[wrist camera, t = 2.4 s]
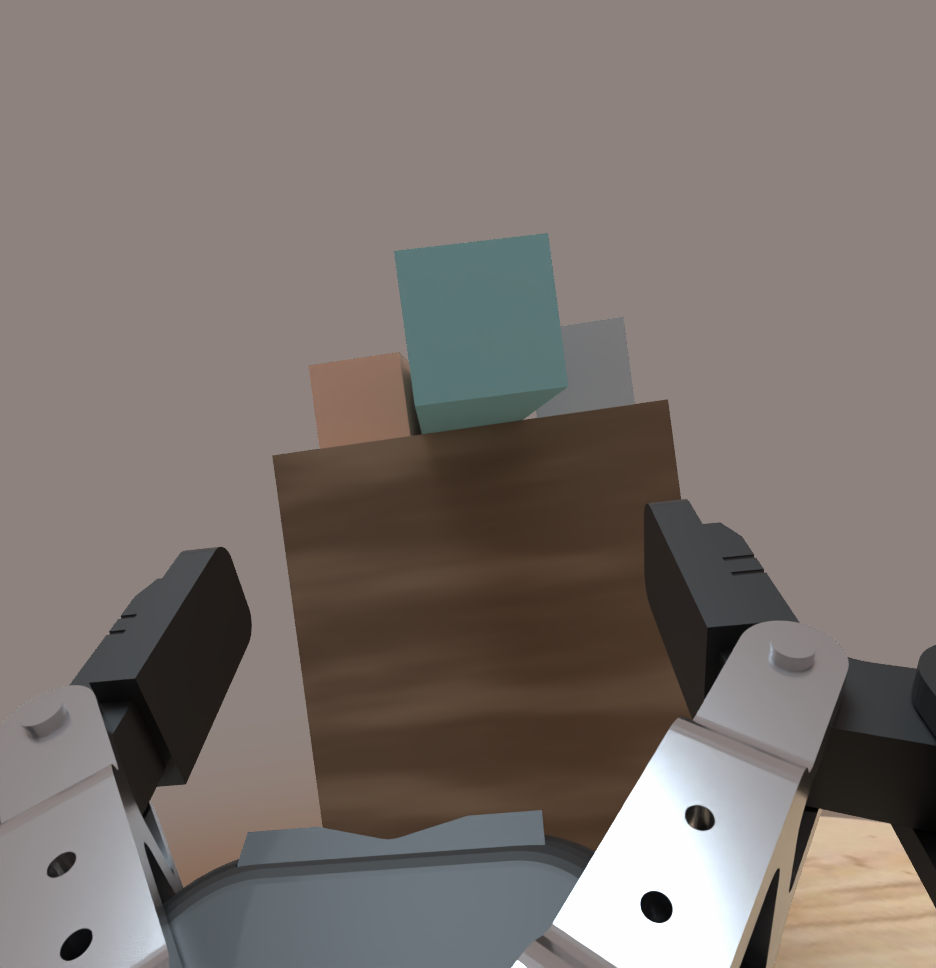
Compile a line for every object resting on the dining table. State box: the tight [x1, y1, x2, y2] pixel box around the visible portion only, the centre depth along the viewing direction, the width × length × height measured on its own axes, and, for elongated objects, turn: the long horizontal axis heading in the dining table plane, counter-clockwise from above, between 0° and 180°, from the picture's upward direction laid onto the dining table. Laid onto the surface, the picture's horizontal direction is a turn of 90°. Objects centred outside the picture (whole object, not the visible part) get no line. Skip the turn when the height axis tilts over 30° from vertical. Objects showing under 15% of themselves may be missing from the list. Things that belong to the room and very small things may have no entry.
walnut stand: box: [273, 400, 692, 851], centre depth 34 cm, size 15×16×32 cm
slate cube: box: [536, 317, 635, 418], centre depth 33 cm, size 4×4×4 cm
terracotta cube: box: [309, 352, 422, 449], centre depth 34 cm, size 4×4×4 cm
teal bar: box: [394, 233, 568, 434], centre depth 29 cm, size 24×4×4 cm, turn 3°
